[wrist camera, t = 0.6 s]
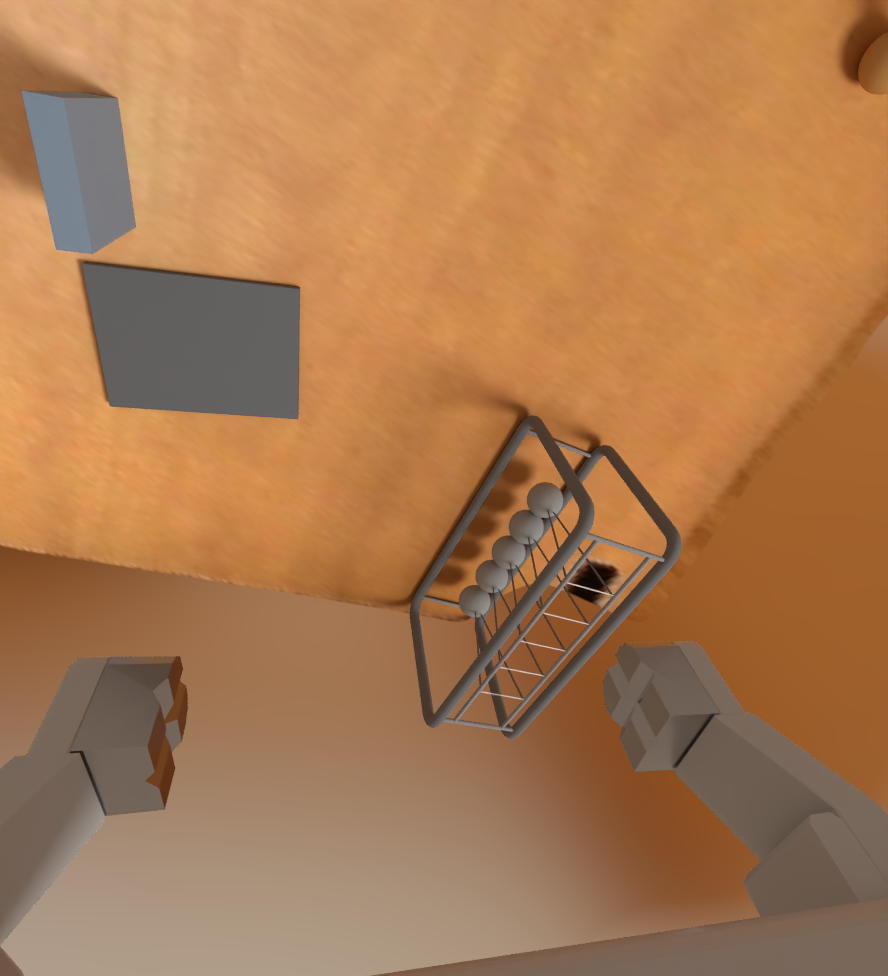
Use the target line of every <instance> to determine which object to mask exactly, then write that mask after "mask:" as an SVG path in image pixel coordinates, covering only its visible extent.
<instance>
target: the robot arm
mask: <svg viewBox="0 0 888 976" xmlns="http://www.w3.org/2000/svg"><path fill="white" fill-rule="evenodd" d="M615 656H616V658H617V660H618V663H616V664H615V665H614V666H612V667H611V668H609V669H608V671H607V673H606V675H605V678H604V680H603V696H604V701H605V705H606V708H607V710H608V712H609V715H610V717H611V718H612V719H613V720H614V721H615V722H617V723H618V724H619V725H620V726H622V731H621V735H620V740H621V742H622V745H623V747H624V749H625V751H626V754H627V756H628V758H629V760H630V763H631V765H632V767H633V770H634V771H653V770H672V769H675V771H674V772H675V774H676V775H677V776H678V777H679V778H680V779H681V780H682V781H683V782H684V783H685V784H686V785H687V786H688V787H689V788H690V789H691V790H692V791H693V792H694V793H695V794H696V795H697V796H698V797H699V798H700V799H701V800H702V801H703V802H704V803H705V804H706V805H707V806H708V807H709V808H710V809H711V810H712V811H713V812H714V813H715V814H716V815H717V816H718V817H719V818H720V819H721V820H722V822H723V823H724V824H725V825H727V826H728V828H729V829H731V831H732V832H733V833H734V834H735V835H736V836H737V837H738V838H739V839H740V840H741V841H742V842H743V843H744V844H745V845H746V846H747V847H748V848H749V849H750V850H751V851H752V852H753V853H754V854H755V855H756V856H757V857H758V858H759V859H760V860H761V861H760V862H759V863H758V864H757V865H756V866H755V867H754V868H753V869H752V870H751V871H750V872H749V873H748V874H747V875H746V877H745V880H744V885H745V887H746V889H747V891H748V893H749V895H750V897H751V899H752V901H753V903H754V905H755V907H756V909H757V911H758V913H759V915H760V917H757V918H751V919H744V920H737V921H730V922H724V923H717V924H711V925H704V926H697V927H691V928H685V929H677V930H671V931H665V932H658V933H651V934H644V935H638V936H631V937H624V938H618V939H611V940H604V941H598V942H591V943H585V944H578V945H572V946H565V947H558V948H552V949H545V950H539V951H532V952H525V953H518V954H512V955H506V956H498V957H492V958H485V959H479V960H472V961H465V962H459V963H452V964H445V965H439V966H432V967H426V968H420V969H412V970H406V971H399V972H392V973H386V974H379V975H373V976H888V815H887V814H886V812H885V811H884V810H883V808H882V807H881V806H880V805H879V804H878V803H876V802H875V801H874V800H872V799H871V798H869V797H868V796H867V795H865V794H864V793H863V792H861V791H860V790H858V789H857V788H856V787H854V786H853V785H851V784H850V783H848V782H847V781H846V780H844V779H843V778H842V777H840V776H839V775H837V774H836V773H835V772H833V771H832V770H831V769H829V768H828V767H826V766H825V765H824V764H822V763H821V762H820V761H818V760H817V759H815V758H814V757H813V756H811V755H810V754H808V753H807V752H806V751H804V750H803V749H802V748H800V747H799V746H797V745H796V744H795V743H793V742H792V741H790V740H789V739H788V738H786V737H785V736H783V735H782V734H780V733H779V732H778V731H777V730H775V729H774V728H772V727H771V726H770V725H768V724H767V723H766V722H764V721H763V720H761V719H760V718H759V717H757V716H756V715H754V714H753V713H745V712H744V710H743V709H742V707H741V706H740V704H739V703H738V701H737V700H736V698H735V697H734V695H733V694H732V692H731V691H730V689H729V688H728V686H727V684H726V683H725V681H724V680H723V679H722V677H721V675H720V674H719V673H718V671H717V669H716V668H715V666H714V665H713V663H712V662H711V660H710V659H709V657H708V656H707V654H706V653H705V652H704V650H703V648H702V647H701V646H700V645H699V644H697V643H696V642H695V641H683V642H668V641H667V642H666V641H664V642H641V643H625V644H623V645H622V646H620V647H619V649H618V651H617V653H616V654H615ZM182 671H183V667H182V663H181V658H180V656H176V657H175V656H173V657H172V656H171V657H170V656H164V657H161V656H157V657H156V656H154V657H78V658H77V659H76V660H75V661H74V662H73V663H72V664H71V665H70V666H69V668H68V670H67V672H66V674H65V676H64V678H63V680H62V683H61V685H60V687H59V689H58V691H57V693H56V695H55V697H54V699H53V701H52V704H51V705H50V708H49V710H48V712H47V714H46V716H45V718H44V720H43V722H42V724H41V726H40V728H39V730H38V733H37V734H36V737H35V739H34V741H33V743H32V745H31V747H30V749H29V751H28V753H27V755H25V756H15V757H14V758H13V759H12V760H10V761H9V762H8V763H7V764H5V765H4V766H3V767H2V768H1V769H0V945H1V944H2V943H3V942H4V940H5V939H6V938H7V937H8V936H9V935H10V933H11V932H12V931H13V930H14V929H15V927H16V926H17V925H18V924H19V923H20V921H21V920H22V919H23V918H24V917H25V916H26V914H27V913H28V912H29V911H30V910H31V908H32V907H33V906H34V905H35V904H36V902H37V901H38V900H39V899H40V898H41V896H42V895H43V894H44V893H45V891H46V890H47V889H48V888H49V887H50V886H51V885H52V883H53V882H54V881H55V880H56V879H57V877H58V876H59V875H60V874H61V872H62V871H63V870H64V869H65V868H66V867H67V865H68V864H69V863H70V862H71V860H73V858H74V857H75V856H76V855H77V854H78V852H79V851H80V850H81V849H82V848H83V846H84V845H85V844H86V843H87V841H88V840H89V839H90V838H91V837H92V836H93V834H94V833H95V832H96V831H97V830H98V829H99V827H100V826H101V825H102V824H103V822H104V821H105V820H106V817H105V816H108V815H118V814H128V813H136V812H146V811H156V810H165V806H166V802H167V798H168V795H169V791H170V787H171V782H172V779H173V775H174V771H175V765H174V760H173V756H172V751H173V750H174V749H175V748H176V747H177V746H178V745H179V744H180V743H181V742H182V738H183V734H184V730H185V725H186V717H187V709H188V697H187V696H188V694H187V688H186V685H185V684H183V683H181V682H180V678H181V674H182ZM0 976H24V975H23V973H22V971H21V970H20V969H19V967H18V966H17V965H16V964H15V963H14V962H13V961H12V959H11V958H10V957H9V956H8V955H7V954H6V952H5V951H4V950H3V949H2V948H1V947H0Z"/></svg>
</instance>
